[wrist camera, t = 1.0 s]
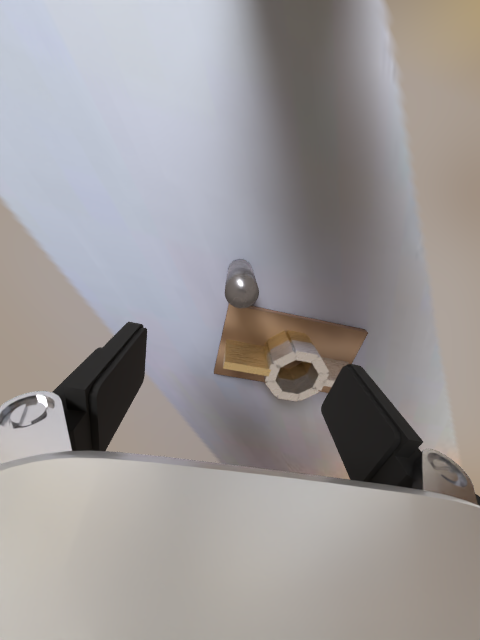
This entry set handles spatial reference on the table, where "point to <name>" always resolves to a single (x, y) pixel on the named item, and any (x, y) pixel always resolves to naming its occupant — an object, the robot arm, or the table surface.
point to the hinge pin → (241, 284)
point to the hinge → (278, 354)
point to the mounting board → (267, 323)
